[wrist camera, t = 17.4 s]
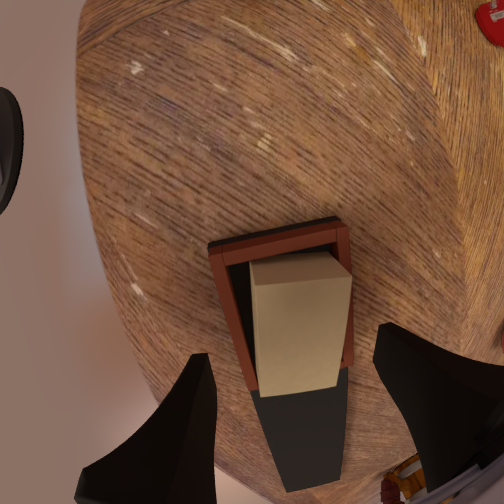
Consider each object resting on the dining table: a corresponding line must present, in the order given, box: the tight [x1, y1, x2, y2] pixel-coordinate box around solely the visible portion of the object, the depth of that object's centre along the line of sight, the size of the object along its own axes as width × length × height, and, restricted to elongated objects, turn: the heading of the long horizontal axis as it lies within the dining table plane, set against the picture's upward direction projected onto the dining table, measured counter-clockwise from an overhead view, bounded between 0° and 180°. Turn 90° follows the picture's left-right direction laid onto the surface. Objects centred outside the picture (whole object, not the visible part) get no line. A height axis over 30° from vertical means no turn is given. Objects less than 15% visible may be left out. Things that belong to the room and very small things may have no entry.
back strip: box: [207, 216, 354, 493], centre depth 23 cm, size 8×40×2 cm, turn 11°
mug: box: [380, 454, 453, 504], centre depth 27 cm, size 11×16×15 cm, turn 79°
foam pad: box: [249, 251, 352, 397], centre depth 17 cm, size 5×8×4 cm, turn 3°
